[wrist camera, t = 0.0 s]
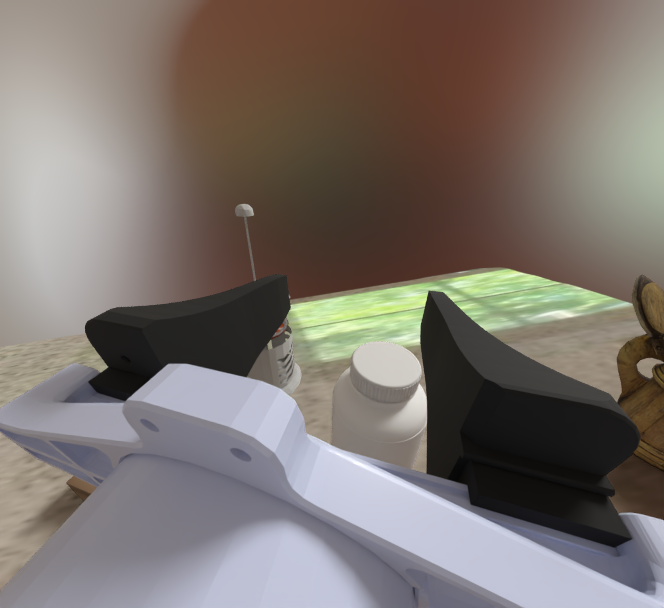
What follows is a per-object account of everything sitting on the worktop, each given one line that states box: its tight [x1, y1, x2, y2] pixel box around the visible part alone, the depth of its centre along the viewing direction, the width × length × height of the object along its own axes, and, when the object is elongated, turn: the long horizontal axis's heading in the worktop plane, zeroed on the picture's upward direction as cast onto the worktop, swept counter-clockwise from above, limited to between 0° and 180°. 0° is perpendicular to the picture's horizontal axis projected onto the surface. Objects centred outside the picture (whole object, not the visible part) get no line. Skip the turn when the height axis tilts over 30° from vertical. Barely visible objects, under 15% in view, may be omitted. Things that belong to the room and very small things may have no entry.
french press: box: [235, 204, 302, 395], centre depth 32 cm, size 10×12×25 cm
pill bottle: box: [331, 341, 427, 470], centre depth 21 cm, size 8×8×15 cm
